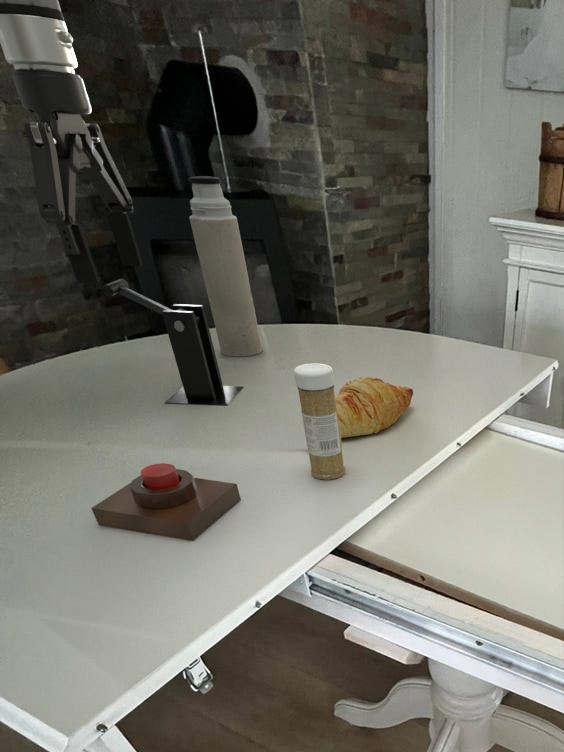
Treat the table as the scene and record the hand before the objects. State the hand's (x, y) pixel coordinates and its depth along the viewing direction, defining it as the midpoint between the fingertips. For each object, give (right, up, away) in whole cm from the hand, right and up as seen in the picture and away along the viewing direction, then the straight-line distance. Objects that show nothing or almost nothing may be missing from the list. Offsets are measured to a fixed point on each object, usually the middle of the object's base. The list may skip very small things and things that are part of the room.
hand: (112, 273), depth 85 cm
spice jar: (+33, -31, -6) cm, 46 cm away
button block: (+17, -38, -16) cm, 45 cm away
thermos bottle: (+5, +5, +34) cm, 35 cm away
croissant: (+35, -20, +7) cm, 41 cm away
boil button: (+17, -36, -18) cm, 43 cm away
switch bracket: (+8, -14, +12) cm, 20 cm away
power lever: (+4, -4, +3) cm, 7 cm away
